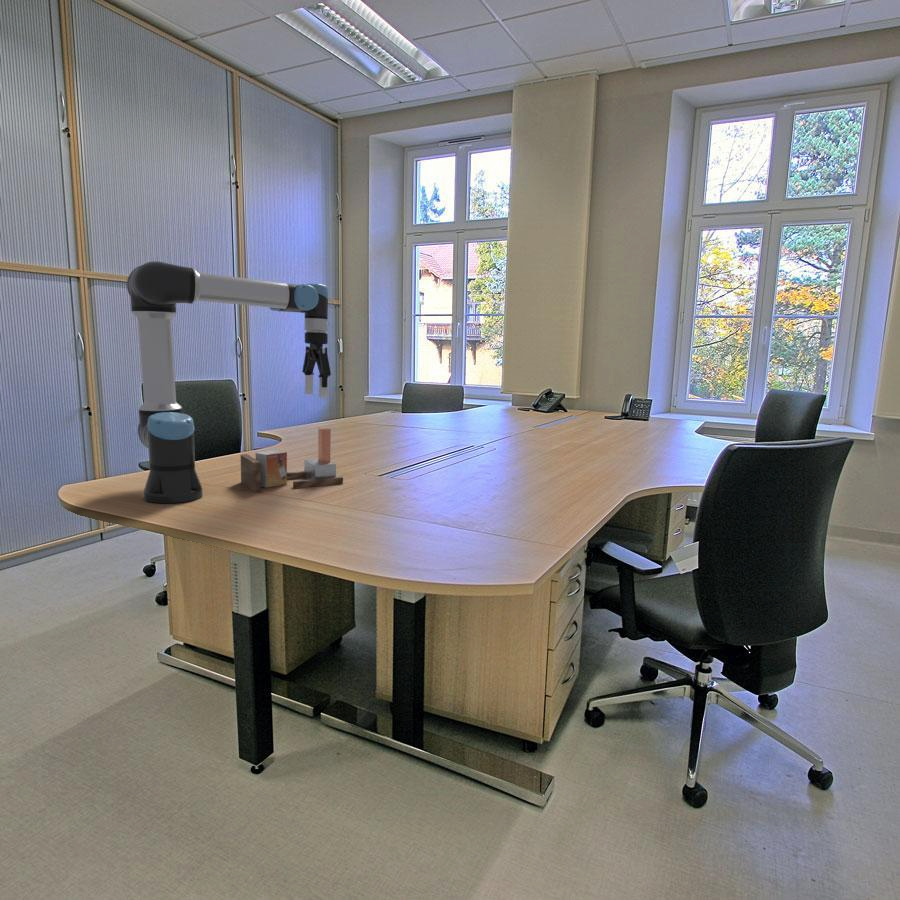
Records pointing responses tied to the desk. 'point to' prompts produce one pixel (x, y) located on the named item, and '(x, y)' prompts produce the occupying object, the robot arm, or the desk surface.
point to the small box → (273, 468)
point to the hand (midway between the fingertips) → (316, 395)
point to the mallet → (321, 458)
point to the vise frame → (253, 476)
